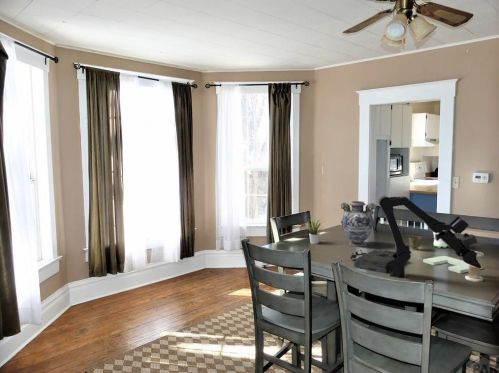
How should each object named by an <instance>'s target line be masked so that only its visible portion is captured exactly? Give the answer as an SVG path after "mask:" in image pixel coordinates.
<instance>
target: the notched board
mask: <svg viewBox="0 0 499 373" xmlns="http://www.w3.org/2000/svg"><path fill="white" fill-rule="evenodd" d="M422 259H423V258H422ZM422 262H423V263H425V264H429V265H432V266H436V265H441V264H442V265H443V264H451V265H452V266H448V267H447V268H448V271H451V272H455V273H458V274H464V273H469V264H467V263H465V262H464V261H463V260H462V259H458V258H455V257H451V256H447V255H441V256H434V257H429V258H424V259H423V260H422ZM481 267H482V268H480V270H482V269H483V265H481Z"/></svg>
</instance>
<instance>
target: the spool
mask: <svg viewBox="0 0 499 373" xmlns="http://www.w3.org/2000/svg"><path fill="white" fill-rule="evenodd" d="M474 251H475V252H476V253H477V256H476V259H477V261H478V262H479V264H480V265H481V258H482V257H484V255H485V254H484V252H481V251H477V250H474ZM480 270H481V269H480V268H477V267H475V266H472V265H470V264H469V272H468V274H467V275H465V277H464V278H465V280H467V281H469V282H473V283H474V282H475V283H479V282H480V283H481V282H483V281H484V280H483V279H484V277H483V276H481V275H480V273H481V272H480Z"/></svg>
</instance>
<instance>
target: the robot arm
mask: <svg viewBox="0 0 499 373" xmlns="http://www.w3.org/2000/svg"><path fill="white" fill-rule="evenodd" d="M377 201H378V205H379V207H380V208H381V210H382V212H383V214H384V216H385V219H386V220H387V224H388V226H389V229H390V231H391V234H392V238H393V241H394V248H395V249H394V250H395V252H396V253H395V254H393V255H392V256H391V257H392V260H393V262H392V271H391V273H390V274H389V276H390V277H395V278H401V279H403V278H405V277H407V276H408V273H406V265H407V262H408V261H409V260H410V259H411V258H412V256H411V254H412V251H411V250H410V244H409V243H408V242H404V240H403V236H402V234H401V231H400V228H399V226H398V223H397V219H396V216H395V214H394V212H395V211H394V207H399V206H404V207H405V208H406V209H408V210H409V211H410V212H412V214H414V215H415V216H416V217H418V219H420V220H422V221H423V223H424V224H425V225H426V226H427V227H428V228H429V230H431V232H432V233H433V232H435V233H439V234H435V239H436V240H437V241H438V240H439V239H441V240H442V241H443V242H445V243H446V244H447V247H449V248H450V249H451V251H452V252H453V253H454V254H455V255H456V256H457V257H459V258H460V260H462V261H464V262H465V263H467V264H470V265H472V266H475V267H477V268H482V269H483V266H482V265H481V263H480V264H479V262H478V261H477V259H476V256H477V253H476V252H475V251H476V250H473V249H472V248H470V246H471V245H474V244H478V242H479V241H478V240H477V237H476V236H475V235H474V234H471V233H470V234H469V233H467V232H465V233H463V232H464V231H465V230H466V229H468V228H469V227H470V225H469V224H468V222H467V221H465V220H464V219H462V218H461V217H460V216H459V215H456V216H455V217H454V218H453V219H452V220H451V221H450V222H444V221H441V220H439V219H437V218H436V217H435V216H432V215H430V214H429V213H427V212H425V210H423V209H422V208H420V207H419V206H418V205H417V204H415V203H414V202H413V201H411V200H410V199H409V197H407V196H404V195H403V196H387V195H382V196H380V197H379V199H378V200H377ZM443 230H444V231H443ZM462 233H463V234H462ZM457 234H458V235H461V234H462V237H461V238H459V237H458V236H457ZM481 266H482V267H481Z"/></svg>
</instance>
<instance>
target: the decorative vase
mask: <svg viewBox="0 0 499 373" xmlns="http://www.w3.org/2000/svg"><path fill="white" fill-rule="evenodd" d="M364 207H365V209H364ZM340 209H342V210H343V212H342V218H341V221H340V223H341V226H342V227H343V233H344V234H345V236H346V238H348V240H349V241H350V242H349V243H348V244H349V246H352V247H359V248H360V247H366V246H367V243H366V240H367V239H369V237H370V235H371V233H372V230H373V227H374V225H375V220H374V218H373V216H374V215H373V212H372V210H375V209H376V204H375V203H374V202H369V203H367V204H366V203H365V201H363V200H362V201H360V200H358V201H357V200H356V201H355V200H354V201H353V200H352V201H351V203H346V202H342V203H341V204H340Z"/></svg>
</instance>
